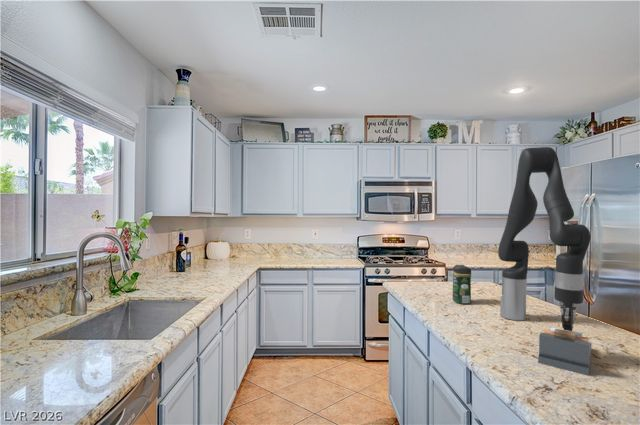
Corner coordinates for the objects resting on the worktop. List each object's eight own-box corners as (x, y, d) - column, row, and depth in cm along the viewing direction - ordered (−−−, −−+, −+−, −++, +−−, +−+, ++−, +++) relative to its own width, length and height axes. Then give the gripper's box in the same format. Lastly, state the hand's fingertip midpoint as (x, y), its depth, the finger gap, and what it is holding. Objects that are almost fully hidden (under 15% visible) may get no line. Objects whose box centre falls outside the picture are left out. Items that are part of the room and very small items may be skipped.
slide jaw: (544, 347, 110) (544, 327, 110) (545, 344, 112) (545, 324, 112) (587, 357, 103) (588, 335, 103) (588, 354, 105) (588, 333, 105)
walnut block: (553, 354, 105) (554, 331, 105) (555, 350, 108) (555, 328, 108) (573, 359, 102) (574, 335, 102) (574, 355, 105) (575, 332, 105)
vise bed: (538, 362, 104) (538, 336, 104) (548, 340, 122) (548, 317, 122) (588, 375, 96) (588, 347, 96) (591, 349, 114) (591, 325, 114)
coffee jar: (450, 299, 177) (451, 263, 177) (466, 300, 176) (467, 263, 176) (455, 304, 167) (456, 266, 167) (472, 305, 166) (473, 267, 166)
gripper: (582, 292, 102) (581, 349, 103) (584, 284, 112) (583, 336, 113) (552, 288, 107) (551, 343, 108) (556, 281, 117) (555, 331, 118)
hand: (567, 339), depth 110 cm, fingers closed
